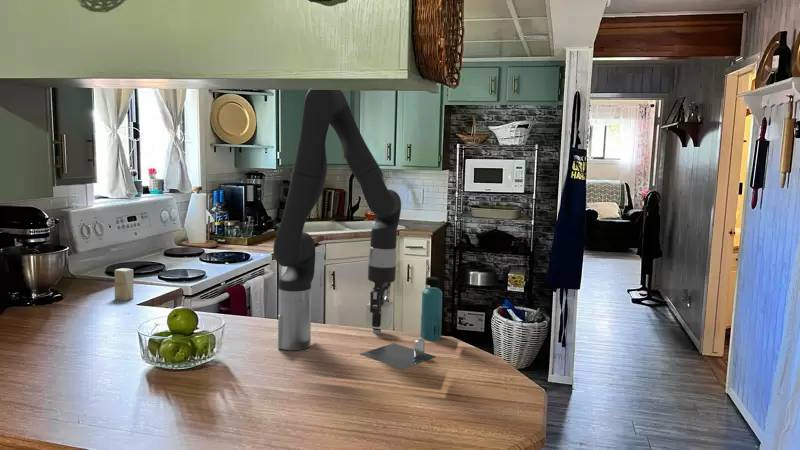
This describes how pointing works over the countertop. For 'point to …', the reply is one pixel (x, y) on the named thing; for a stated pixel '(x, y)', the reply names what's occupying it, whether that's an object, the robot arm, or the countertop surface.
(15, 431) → the countertop surface
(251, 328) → the countertop surface
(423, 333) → the beverage bottle
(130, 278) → the cream upright cylinder
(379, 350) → the plate
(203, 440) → the countertop surface
